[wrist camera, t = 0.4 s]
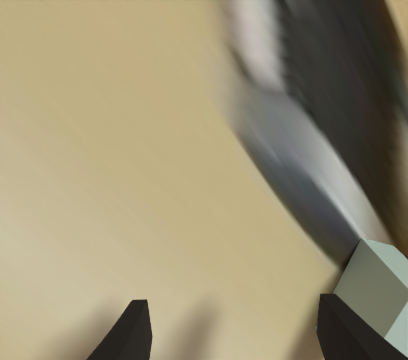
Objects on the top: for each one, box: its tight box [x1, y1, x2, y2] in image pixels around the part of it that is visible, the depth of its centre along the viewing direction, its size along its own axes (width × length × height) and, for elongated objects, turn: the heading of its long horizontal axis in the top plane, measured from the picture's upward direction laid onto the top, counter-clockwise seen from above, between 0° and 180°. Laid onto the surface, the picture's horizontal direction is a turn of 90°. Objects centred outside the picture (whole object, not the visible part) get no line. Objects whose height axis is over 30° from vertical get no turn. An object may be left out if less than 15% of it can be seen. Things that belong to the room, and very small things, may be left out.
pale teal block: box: [315, 238, 408, 357], centre depth 21 cm, size 9×3×6 cm, turn 165°
